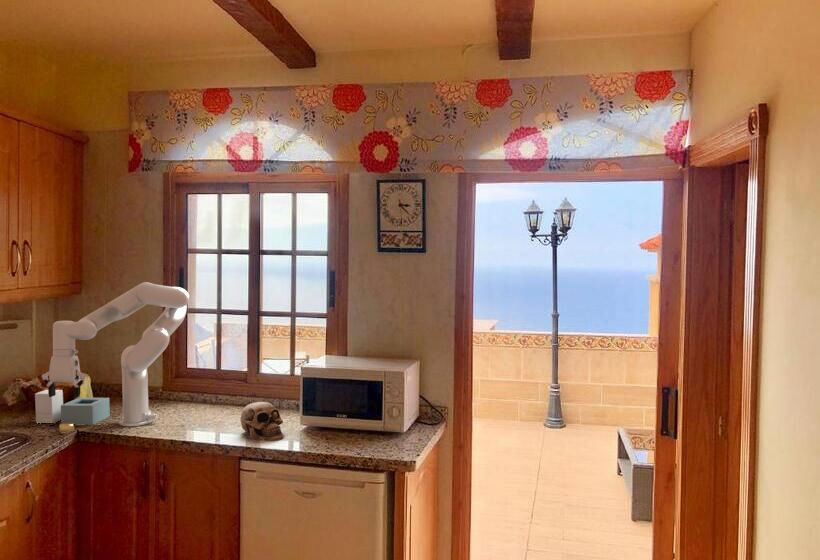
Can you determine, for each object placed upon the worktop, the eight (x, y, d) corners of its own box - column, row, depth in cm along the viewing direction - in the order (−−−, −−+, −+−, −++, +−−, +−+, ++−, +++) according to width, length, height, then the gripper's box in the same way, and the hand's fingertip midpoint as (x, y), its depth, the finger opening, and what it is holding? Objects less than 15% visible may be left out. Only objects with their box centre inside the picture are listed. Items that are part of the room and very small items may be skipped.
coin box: (109, 416, 262) (109, 397, 261) (92, 425, 249) (92, 405, 248) (79, 416, 262) (79, 397, 262) (61, 425, 249) (60, 405, 249)
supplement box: (64, 419, 257) (63, 389, 257) (52, 424, 250) (51, 393, 249) (47, 419, 258) (46, 389, 257) (35, 424, 251) (34, 393, 250)
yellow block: (77, 429, 243) (76, 422, 243) (69, 433, 238) (69, 426, 238) (64, 429, 243) (64, 422, 243) (56, 433, 238) (56, 425, 238)
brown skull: (280, 441, 228) (276, 405, 228) (234, 445, 229) (230, 409, 229) (291, 430, 244) (287, 396, 243) (248, 433, 245) (244, 400, 245)
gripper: (91, 351, 242) (91, 395, 243) (48, 350, 243) (48, 393, 243) (80, 354, 235) (80, 399, 235) (36, 353, 235) (36, 398, 236)
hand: (64, 396), depth 239 cm, fingers open, 9 cm apart
